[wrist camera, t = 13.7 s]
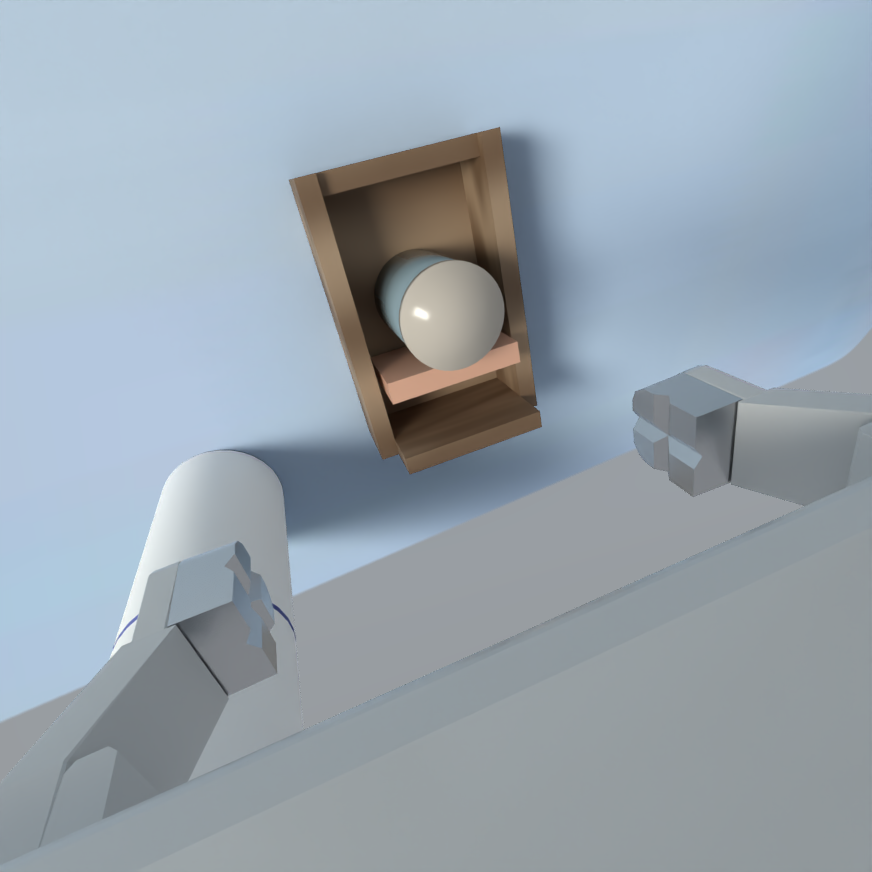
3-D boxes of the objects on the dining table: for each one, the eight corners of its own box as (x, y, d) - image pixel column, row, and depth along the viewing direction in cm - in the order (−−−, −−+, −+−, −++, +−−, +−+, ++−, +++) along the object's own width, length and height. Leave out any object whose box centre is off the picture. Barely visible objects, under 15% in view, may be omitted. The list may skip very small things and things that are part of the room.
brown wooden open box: (288, 179, 26) (297, 177, 21) (469, 134, 28) (523, 121, 22) (369, 431, 34) (392, 480, 28) (509, 383, 35) (557, 421, 30)
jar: (361, 260, 28) (389, 278, 23) (449, 236, 29) (495, 247, 24) (385, 348, 31) (415, 384, 25) (465, 323, 32) (511, 352, 26)
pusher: (369, 357, 31) (387, 384, 26) (483, 321, 32) (517, 341, 28) (375, 375, 31) (393, 404, 27) (486, 339, 32) (520, 361, 28)
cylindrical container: (299, 466, 33) (376, 984, 12) (263, 556, 35) (273, 1140, 14) (179, 436, 30) (-17, 1064, 9) (147, 536, 32) (-77, 1252, 10)
